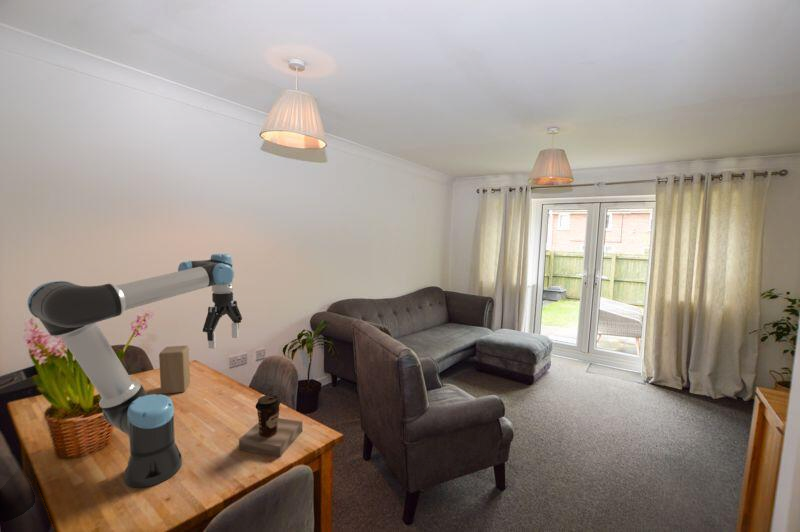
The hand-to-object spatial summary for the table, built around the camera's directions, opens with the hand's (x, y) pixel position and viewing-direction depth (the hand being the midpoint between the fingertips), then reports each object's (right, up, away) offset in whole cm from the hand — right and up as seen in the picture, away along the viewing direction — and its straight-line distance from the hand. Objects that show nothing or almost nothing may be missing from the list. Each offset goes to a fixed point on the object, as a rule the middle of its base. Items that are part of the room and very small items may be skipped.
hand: (224, 342), depth 146 cm
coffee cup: (+25, -29, -17) cm, 42 cm away
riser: (+25, -33, -14) cm, 44 cm away
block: (-35, -28, +24) cm, 51 cm away
